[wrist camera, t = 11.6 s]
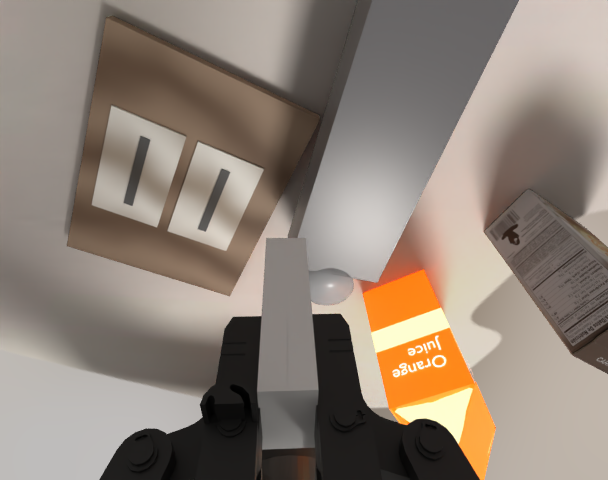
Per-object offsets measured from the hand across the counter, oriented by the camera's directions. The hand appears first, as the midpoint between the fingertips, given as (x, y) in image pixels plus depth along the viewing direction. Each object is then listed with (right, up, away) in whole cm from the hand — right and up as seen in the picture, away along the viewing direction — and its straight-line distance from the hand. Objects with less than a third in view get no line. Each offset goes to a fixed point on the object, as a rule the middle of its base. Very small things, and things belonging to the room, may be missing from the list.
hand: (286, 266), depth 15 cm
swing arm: (+5, +8, +16) cm, 19 cm away
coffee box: (+25, +2, +26) cm, 36 cm away
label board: (-7, +5, +22) cm, 24 cm away
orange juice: (+13, -7, +32) cm, 35 cm away
